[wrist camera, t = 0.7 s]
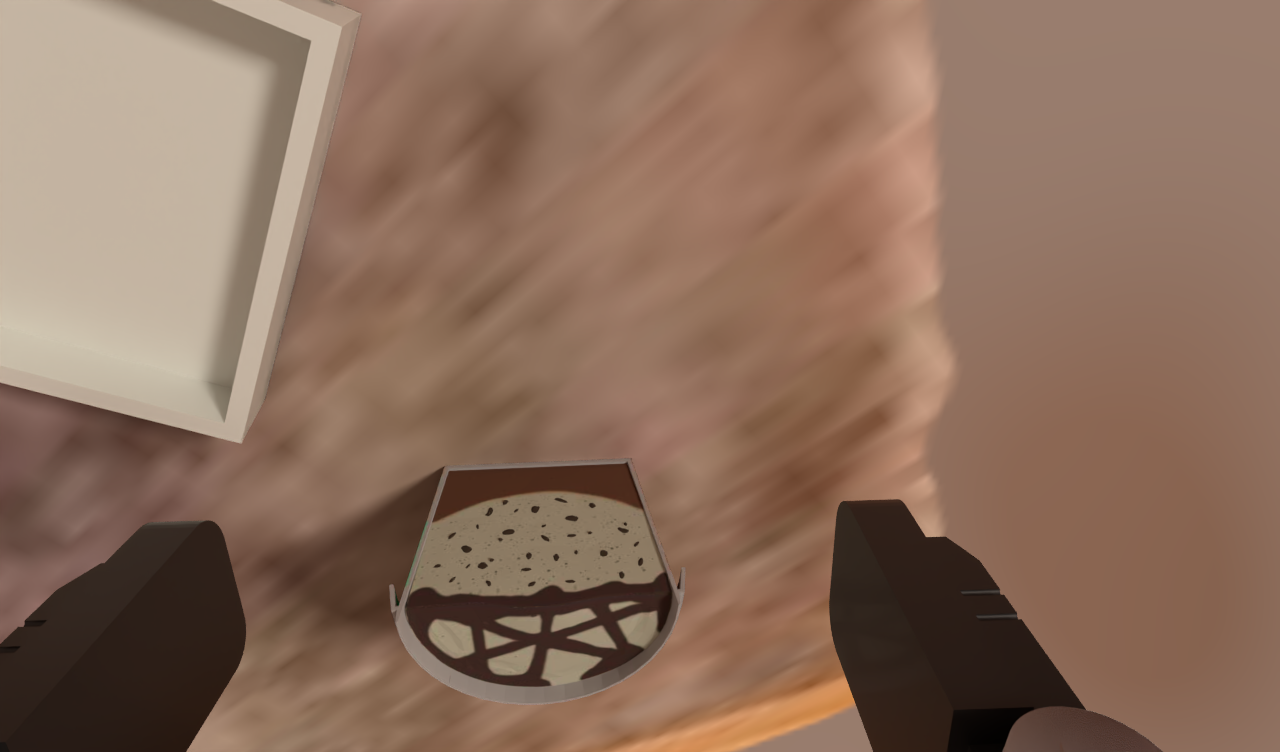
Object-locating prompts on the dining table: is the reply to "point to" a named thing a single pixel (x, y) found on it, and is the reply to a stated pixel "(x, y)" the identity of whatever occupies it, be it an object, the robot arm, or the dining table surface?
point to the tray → (160, 196)
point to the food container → (538, 581)
